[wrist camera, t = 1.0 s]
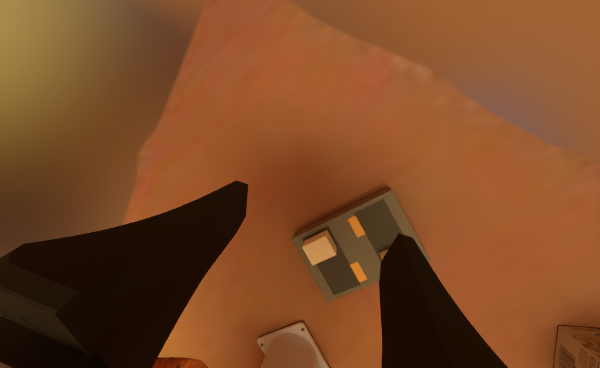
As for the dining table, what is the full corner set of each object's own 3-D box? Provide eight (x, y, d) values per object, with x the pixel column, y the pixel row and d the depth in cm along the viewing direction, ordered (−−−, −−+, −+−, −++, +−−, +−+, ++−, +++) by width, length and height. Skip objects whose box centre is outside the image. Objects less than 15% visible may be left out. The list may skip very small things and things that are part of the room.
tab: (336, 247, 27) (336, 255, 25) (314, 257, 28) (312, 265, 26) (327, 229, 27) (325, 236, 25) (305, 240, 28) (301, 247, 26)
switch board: (423, 251, 28) (430, 261, 25) (328, 289, 31) (327, 302, 28) (387, 186, 28) (391, 190, 25) (296, 232, 31) (291, 239, 28)
